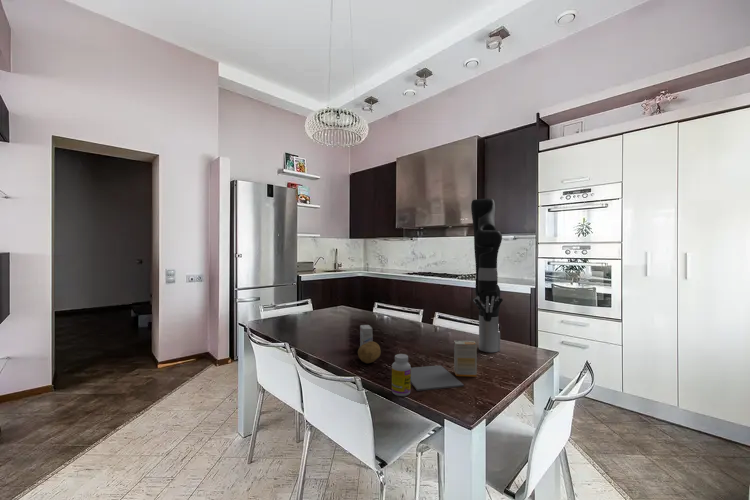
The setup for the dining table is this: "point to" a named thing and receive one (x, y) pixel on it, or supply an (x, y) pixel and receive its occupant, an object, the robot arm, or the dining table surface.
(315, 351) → the dining table surface
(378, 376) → the dining table surface
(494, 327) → the robot arm
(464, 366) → the supplement box
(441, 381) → the rubber mat
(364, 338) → the ink box
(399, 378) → the supplement bottle
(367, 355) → the potato
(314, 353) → the dining table surface
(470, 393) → the dining table surface
